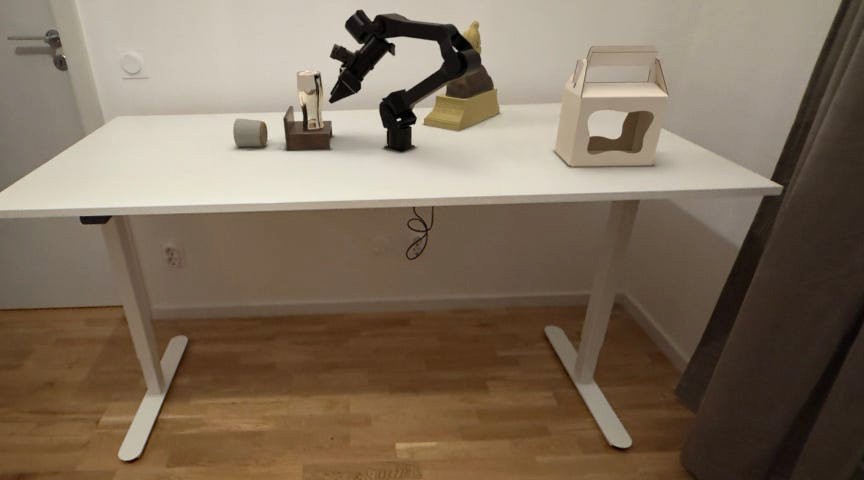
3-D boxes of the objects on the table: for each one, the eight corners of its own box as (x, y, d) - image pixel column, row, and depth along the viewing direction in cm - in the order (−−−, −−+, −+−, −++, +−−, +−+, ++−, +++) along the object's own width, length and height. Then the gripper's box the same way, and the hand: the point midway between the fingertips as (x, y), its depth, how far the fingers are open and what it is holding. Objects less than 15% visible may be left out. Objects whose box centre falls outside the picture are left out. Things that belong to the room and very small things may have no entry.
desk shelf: (332, 135, 161) (330, 105, 157) (329, 149, 149) (327, 117, 145) (292, 136, 161) (289, 106, 156) (286, 150, 149) (283, 118, 144)
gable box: (568, 166, 137) (587, 50, 123) (553, 151, 148) (569, 42, 134) (653, 165, 138) (682, 49, 124) (631, 150, 149) (655, 42, 135)
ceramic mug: (264, 149, 149) (260, 122, 145) (235, 149, 149) (230, 122, 145) (272, 139, 158) (269, 113, 155) (244, 139, 158) (240, 113, 155)
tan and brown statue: (466, 107, 192) (472, 16, 177) (499, 113, 186) (507, 18, 171) (423, 124, 173) (426, 23, 158) (458, 131, 166) (464, 25, 151)
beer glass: (323, 131, 149) (319, 74, 142) (299, 131, 149) (293, 74, 142) (327, 124, 155) (323, 70, 148) (303, 124, 155) (298, 70, 148)
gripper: (347, 29, 148) (310, 71, 153) (345, 37, 132) (305, 84, 137) (376, 58, 152) (339, 99, 157) (378, 70, 136) (337, 114, 141)
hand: (330, 98), depth 148 cm, fingers open, 9 cm apart
